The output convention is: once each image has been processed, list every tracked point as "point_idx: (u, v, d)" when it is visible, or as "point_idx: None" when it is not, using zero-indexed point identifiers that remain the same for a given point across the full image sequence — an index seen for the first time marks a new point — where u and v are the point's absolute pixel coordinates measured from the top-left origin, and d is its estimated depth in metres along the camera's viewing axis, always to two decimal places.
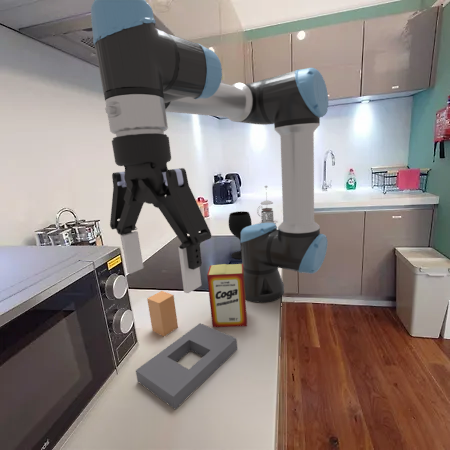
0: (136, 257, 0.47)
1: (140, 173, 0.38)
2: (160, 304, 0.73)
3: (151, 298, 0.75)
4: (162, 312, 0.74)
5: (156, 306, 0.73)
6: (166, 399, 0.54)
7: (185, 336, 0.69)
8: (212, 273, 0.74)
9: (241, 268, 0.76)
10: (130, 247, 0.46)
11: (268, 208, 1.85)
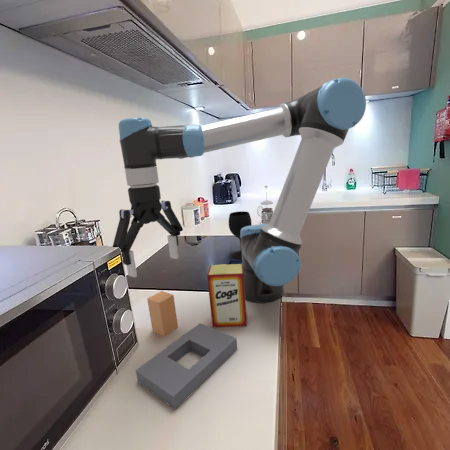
0: (173, 250, 0.78)
1: None
2: (160, 304, 0.73)
3: (151, 298, 0.75)
4: (162, 312, 0.74)
5: (156, 306, 0.73)
6: (166, 399, 0.54)
7: (185, 336, 0.69)
8: (212, 273, 0.74)
9: (241, 268, 0.76)
10: (170, 243, 0.78)
11: (268, 208, 1.85)
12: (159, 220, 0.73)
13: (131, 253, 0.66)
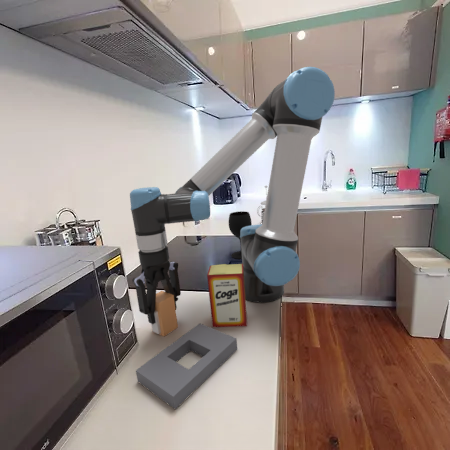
0: None
1: None
2: (160, 304, 0.73)
3: None
4: (162, 311, 0.74)
5: (156, 306, 0.73)
6: (166, 399, 0.54)
7: (185, 336, 0.69)
8: (212, 273, 0.74)
9: (241, 268, 0.76)
10: None
11: None
12: (164, 280, 0.76)
13: (156, 313, 0.74)
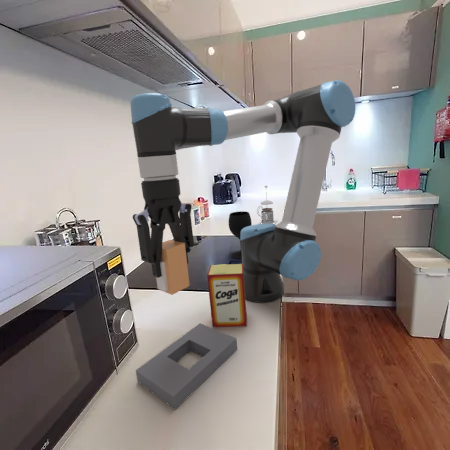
0: None
1: None
2: (167, 251, 0.57)
3: None
4: (170, 262, 0.57)
5: (163, 254, 0.57)
6: (166, 399, 0.54)
7: (185, 336, 0.69)
8: (212, 273, 0.74)
9: (241, 268, 0.76)
10: None
11: (268, 208, 1.85)
12: (173, 224, 0.59)
13: (162, 264, 0.57)
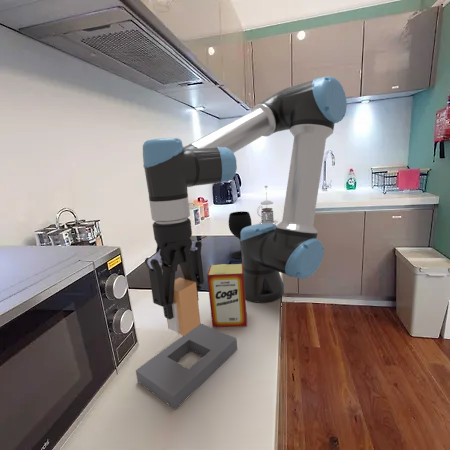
0: None
1: None
2: (179, 293, 0.56)
3: None
4: (182, 303, 0.57)
5: (175, 295, 0.57)
6: (166, 399, 0.54)
7: (185, 336, 0.69)
8: (212, 273, 0.74)
9: (241, 268, 0.76)
10: None
11: (268, 208, 1.85)
12: (184, 264, 0.59)
13: (174, 305, 0.57)
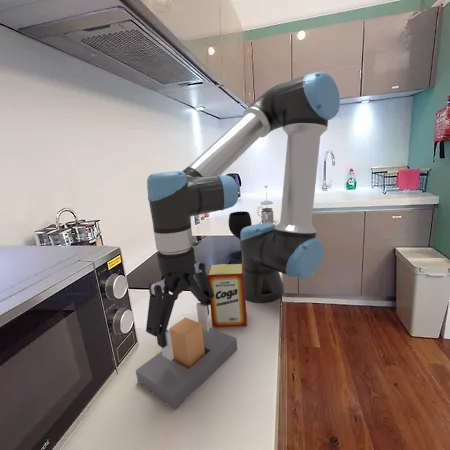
0: (203, 322, 0.66)
1: None
2: (186, 337, 0.58)
3: (174, 328, 0.61)
4: (189, 346, 0.59)
5: (182, 339, 0.59)
6: (166, 399, 0.54)
7: None
8: (212, 273, 0.74)
9: (241, 268, 0.76)
10: (199, 313, 0.66)
11: (268, 208, 1.85)
12: (191, 287, 0.61)
13: (168, 334, 0.56)
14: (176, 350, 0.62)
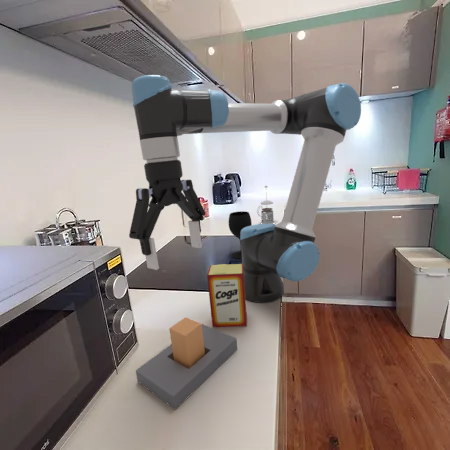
0: (195, 238, 0.67)
1: None
2: (186, 337, 0.58)
3: (174, 328, 0.61)
4: (189, 346, 0.59)
5: (182, 339, 0.59)
6: (166, 399, 0.54)
7: None
8: (212, 273, 0.74)
9: (241, 268, 0.76)
10: (191, 230, 0.67)
11: (268, 208, 1.85)
12: (180, 202, 0.62)
13: (152, 241, 0.55)
14: (176, 350, 0.62)
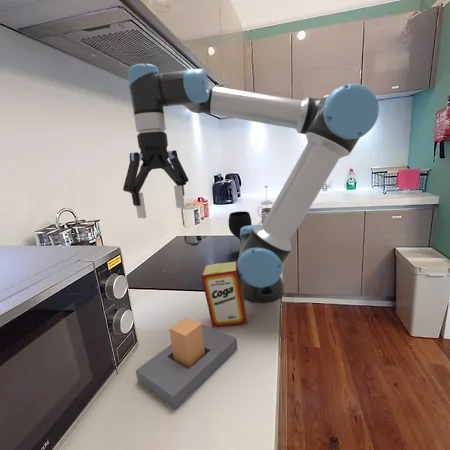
0: (179, 200, 0.82)
1: None
2: (186, 337, 0.58)
3: (174, 328, 0.61)
4: (189, 346, 0.59)
5: (182, 339, 0.59)
6: (166, 399, 0.54)
7: None
8: (206, 273, 0.74)
9: (235, 265, 0.76)
10: (176, 193, 0.82)
11: (268, 208, 1.85)
12: (166, 168, 0.77)
13: (141, 194, 0.70)
14: (176, 350, 0.62)
